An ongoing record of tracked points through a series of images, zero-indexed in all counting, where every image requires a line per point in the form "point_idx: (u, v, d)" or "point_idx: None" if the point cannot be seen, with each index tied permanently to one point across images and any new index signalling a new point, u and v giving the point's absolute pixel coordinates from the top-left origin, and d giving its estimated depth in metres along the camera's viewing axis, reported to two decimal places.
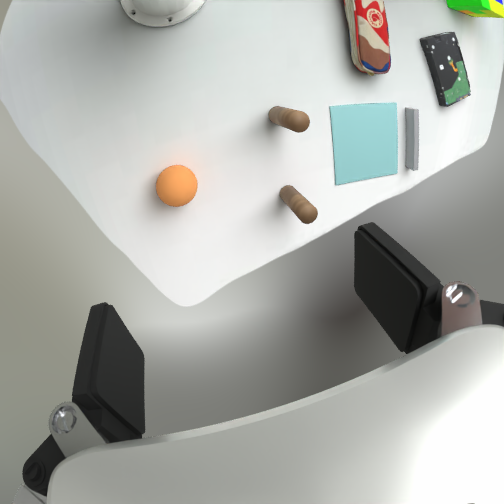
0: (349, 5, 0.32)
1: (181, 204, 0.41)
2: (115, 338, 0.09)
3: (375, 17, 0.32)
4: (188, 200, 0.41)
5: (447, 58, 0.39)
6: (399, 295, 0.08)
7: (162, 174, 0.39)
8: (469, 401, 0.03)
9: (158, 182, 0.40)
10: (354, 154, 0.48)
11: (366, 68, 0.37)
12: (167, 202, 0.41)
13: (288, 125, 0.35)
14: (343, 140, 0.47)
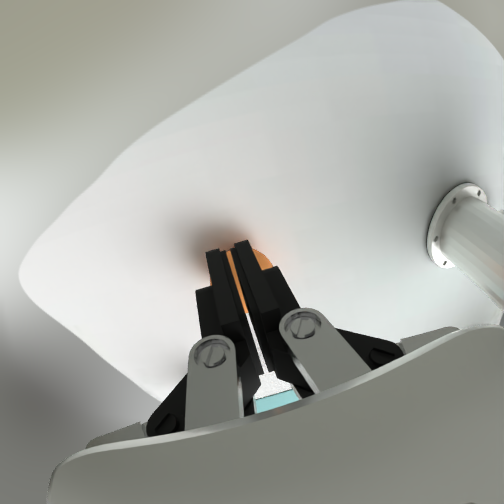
0: None
1: None
2: None
3: None
4: None
5: None
6: (251, 317, 0.09)
7: (268, 265, 0.26)
8: (469, 401, 0.03)
9: None
10: (268, 409, 0.46)
11: None
12: None
13: None
14: (283, 399, 0.45)
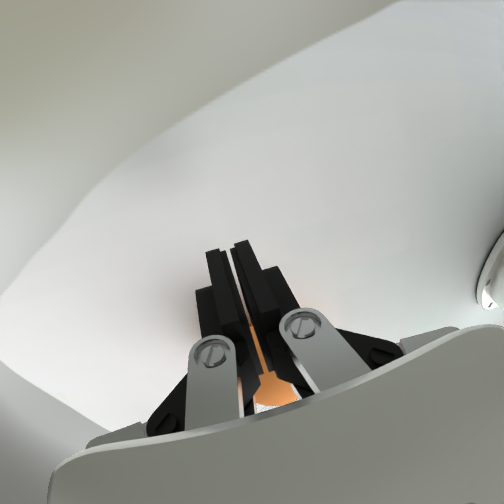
0: None
1: None
2: None
3: None
4: None
5: None
6: (251, 316, 0.09)
7: None
8: (469, 401, 0.03)
9: None
10: None
11: None
12: None
13: None
14: None
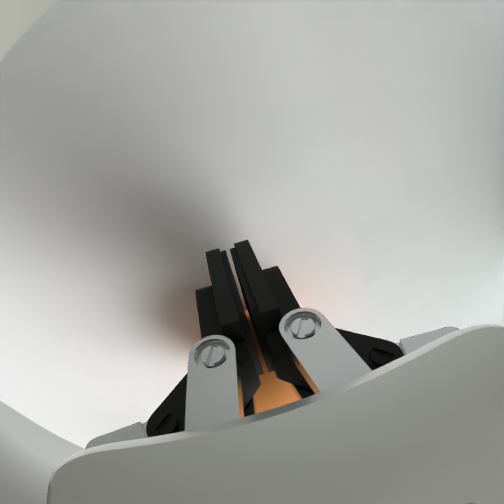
0: None
1: None
2: None
3: None
4: None
5: None
6: (251, 316, 0.09)
7: None
8: (469, 401, 0.03)
9: None
10: None
11: None
12: None
13: None
14: None
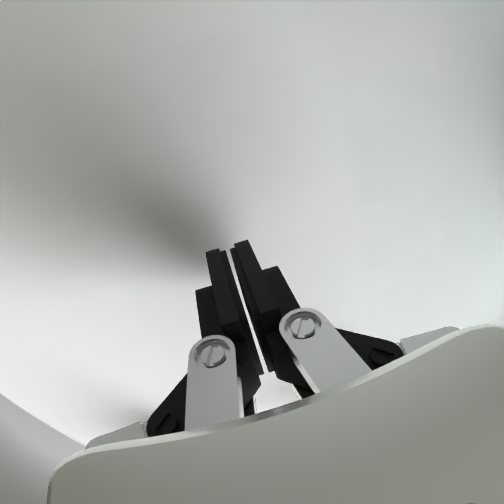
0: None
1: None
2: None
3: None
4: None
5: None
6: (251, 316, 0.09)
7: None
8: (469, 401, 0.03)
9: None
10: None
11: None
12: None
13: None
14: None
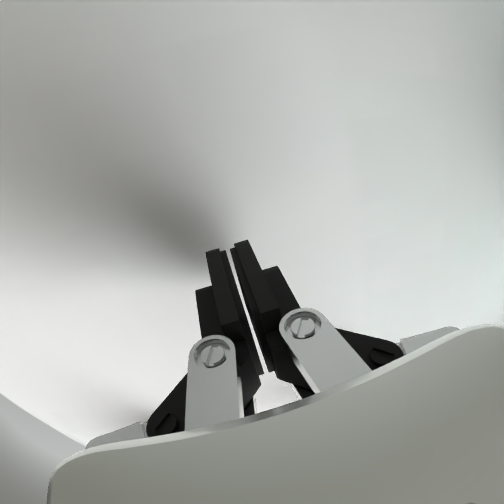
0: None
1: None
2: None
3: None
4: None
5: None
6: (251, 316, 0.09)
7: None
8: (469, 401, 0.03)
9: None
10: None
11: None
12: None
13: None
14: None
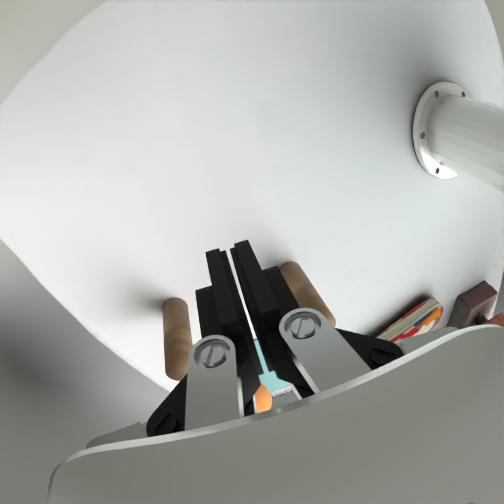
0: (406, 325, 0.42)
1: None
2: None
3: None
4: None
5: None
6: (251, 317, 0.09)
7: (264, 387, 0.40)
8: (469, 401, 0.03)
9: None
10: None
11: None
12: None
13: None
14: (258, 349, 0.39)
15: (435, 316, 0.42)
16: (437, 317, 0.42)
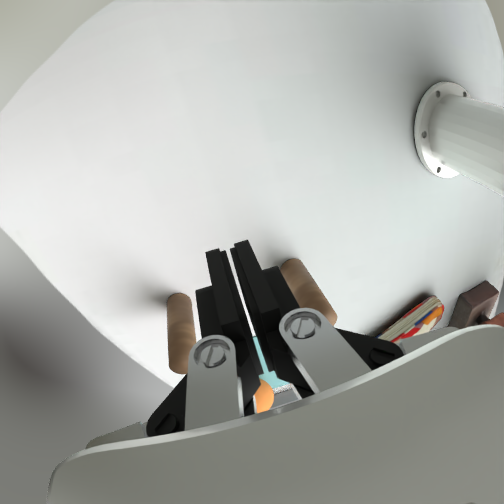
0: (406, 324, 0.42)
1: None
2: None
3: None
4: None
5: None
6: (251, 317, 0.09)
7: (266, 383, 0.41)
8: (469, 401, 0.03)
9: None
10: None
11: None
12: None
13: (317, 310, 0.26)
14: None
15: (436, 314, 0.42)
16: (438, 315, 0.42)
